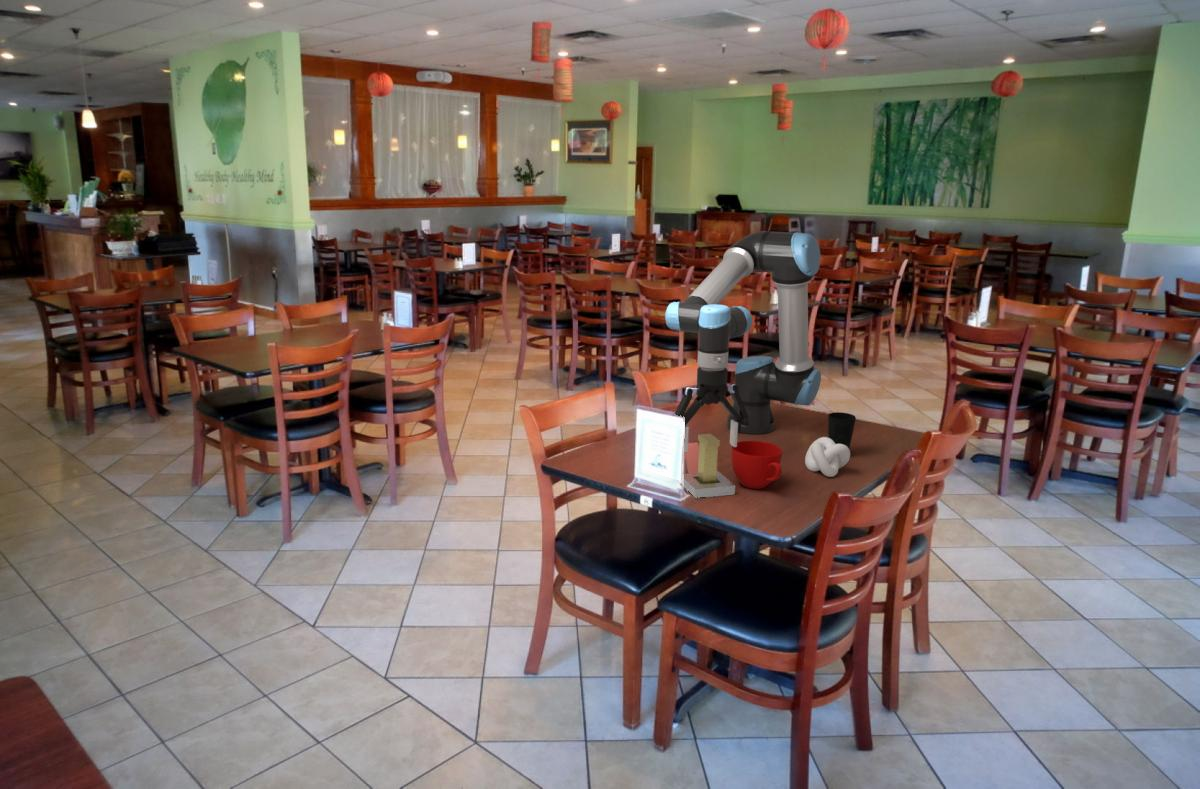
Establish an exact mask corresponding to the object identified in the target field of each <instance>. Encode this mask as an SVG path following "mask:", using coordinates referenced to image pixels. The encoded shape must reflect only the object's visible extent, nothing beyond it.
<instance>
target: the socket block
mask: <svg viewBox="0 0 1200 789" xmlns="http://www.w3.org/2000/svg"><path fill="white" fill-rule="evenodd" d="M683 474H684V485H685V488H686V490H687V492H688V491H689V492H690V493H691V494H692V495H693V496H694V497H695V498H696V499H701V498H700V497H706V498H713V497H714V496H715V497H723V496H734V495H735V494H736V484H734V483H733V482H732V481H731V480H730V479H728V478H727V477H726V476H725V475H724V474H722V473H721V472H720V471H719V470H717V474H716V483H712V484H700V483H699V482H698V472H697V473H683ZM689 492H688V493H689ZM690 493H689V494H690ZM691 494H690V495H691ZM692 495H691V496H692ZM693 496H692V497H693ZM694 497H693V498H694ZM697 497H698V498H697ZM695 498H694V499H695Z"/></svg>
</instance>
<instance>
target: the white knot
mask: <svg viewBox="0 0 1200 789" xmlns="http://www.w3.org/2000/svg"><path fill="white" fill-rule="evenodd" d="M838 455H839V456H838ZM850 457H851V450H850V449H849V448H848V447H847V446H846V445H843V444H835V443H834V441H833V440H832V439H830V438H828V437H827V436H822V437H819V438H817V439H815V440H814V441H813V442H812V443H811V445H809V448H807V451H806V453H805V457H804V463H805V466H806V468H807V469H808V470H809V471H811V472H818V471H820V472H821V473H822V474H823V475H824V476H825V477H827V478H832V477H835V476H836V475H838V473H839V469H841V468H843V467H844V466H845V465H846V464H847V463H848V462H849V460H850V459H851V458H850Z"/></svg>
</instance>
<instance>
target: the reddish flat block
mask: <svg viewBox="0 0 1200 789" xmlns="http://www.w3.org/2000/svg"><path fill="white" fill-rule="evenodd" d="M683 452H684V457H685V465H686V468H687V472H688V473H697V472H698V461H699V441H698V442H688V452H685V451H683Z"/></svg>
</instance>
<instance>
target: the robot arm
mask: <svg viewBox="0 0 1200 789" xmlns="http://www.w3.org/2000/svg"><path fill="white" fill-rule="evenodd" d="M820 249H821V248H820V245H819V242H818V240H817V239H816V238H815V236H814V235H812V234H811V233H804V232H800V231H799V232H798V231H794V232H793V231H790V232H789V231H769V230H762V231H761V230H760V231H755V232H754V233H751V234H747V235H746V236H744V237H742V238H740V239H739V240H737V241H735V243H733V244H732V245H731V246H730V247H729V248H728V249H727V250H726V251H725V252H724V254H723V257H722V260H721V261H720V263H719V264H717V266H716V267H715V268H714V269H713V270H712V271H711V272H710V273H708V274H709V275H707V276H706V277H705V278H704V280H703V281H702V282H701V283H700V284H699V285H697V287H696V288H695V289H694V291H692V293H691V294H689V296H687V298H686V299H685V300H684V301H683V302H681V301H677V302H676V301H673V302H670V303H669V304H668V306H667V307H666V310H665V315H664V316H665V317H664V320H665V324H666V326H667V327H668V328H669V330H673V331H679V332H681V333H683V332H686V333H692V334H698V348H697V366H698V367H697V369H696V386H695V387H689V386H685V387H684V391H683V396H682V397H681V399H680V402H679V404H678V406H677V408H676V410H675V411H674V414H676V415H678V416H680V415H681V416H682V417H683V416H684V417H685V439H684V451H685V452H688V443H689V429H690V428H689V426H688V425H687V424H689V422H690V421H691V420H692V418H693V417H694V416H695V415H696V414H697V413H698V412H699V411H700V409H701V408H702V407H703V406H705V405H706V406H707V405H711V404H715V405H718V404H719V403H721V405H722V406H723V407H724V408H725V409H726V411H727V412H728V413H729V414H728V416H727V420H726V427H727V428H728V429H730V432H729V445H730V446H731V447H732V446H733V447H737V442H738V434H741V433H742V434H747V435H748V434H749V435H762V434H768V433H771V432H774V430H775V419H774V416H773V415H774V414H773V412H772V408H771V401H776V402H781V403H786V404H793V405H796V406H797V405H798V406H809V405H811V404H812V403H813V402H814V400H815V399H816V397H817V394H818V393H819V390H820V385H821V381H822V372H821V370H820V369H818V368H815V366H814V365H815V363H814V359H812V358H811V357H810V355H809V301H808V300H809V299H808V298H809V296H808V293H809V292H808V291H809V289H808V288H809V286H808V284H810V282H812V281H813V278H814V276H815V275H816V274H817V273H818V271H819V270H820V267H821V266H820V263H821V250H820ZM754 272H768V273H771V281H772V282H773V283H774V284H775V286H777V309H778V310H777V314H778V316H777V317H778V340H779V341H778V343H779V345H778V346H779V347H778V350H779V357H778V358H777V359H776V360H775V359H774V357H772V356H768V355H756V356H755V355H754V356H747V357H743V358H740V359H738V360H737V362H736V364H735V370H734V371H735V372H734V382H731V383H730V384H729V385H728V384H727V383H728V374H729V372H728V369H727V368H728V365H729V349H730V340H731V339H734V338H738V337H741V336H743V335H744V334H746V333H748V331H750V329H751V327H752V325H753V316H752V314H751V313H750V310H748V309H747V308H746V307H744V306H740V305H738V306H736V305H733V306H731V307H729V306H727V305H724V304H721V302H723V300H724V299H725V298H726V297H727V296H728V295H729V293H730V292H731V291H732V290H733V289H734V288H735V286H737V284H738V283H740V281H742V279H743V278H747V277H749V275H751V274H752V273H754ZM727 393H730V395H731V397H732V399H733V404H730V402H729V400H728V399H727V397H725V396H726V394H727ZM695 395H696V397H695V398H694V400H693V402H692V403H691V400H692V398H693V397H694V396H695ZM690 403H691V404H690ZM689 405H690V406H689ZM684 451H683V452H684Z"/></svg>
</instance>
